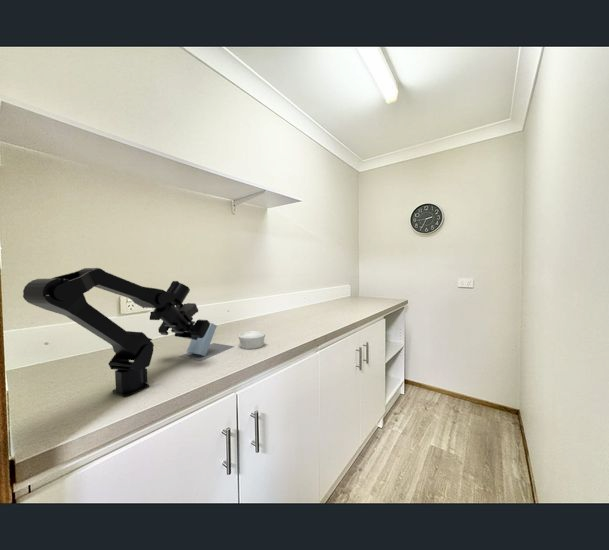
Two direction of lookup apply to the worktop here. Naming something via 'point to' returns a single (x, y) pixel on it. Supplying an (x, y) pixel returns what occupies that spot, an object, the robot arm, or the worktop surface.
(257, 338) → the ramekin
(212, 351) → the mat
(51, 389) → the worktop surface
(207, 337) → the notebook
